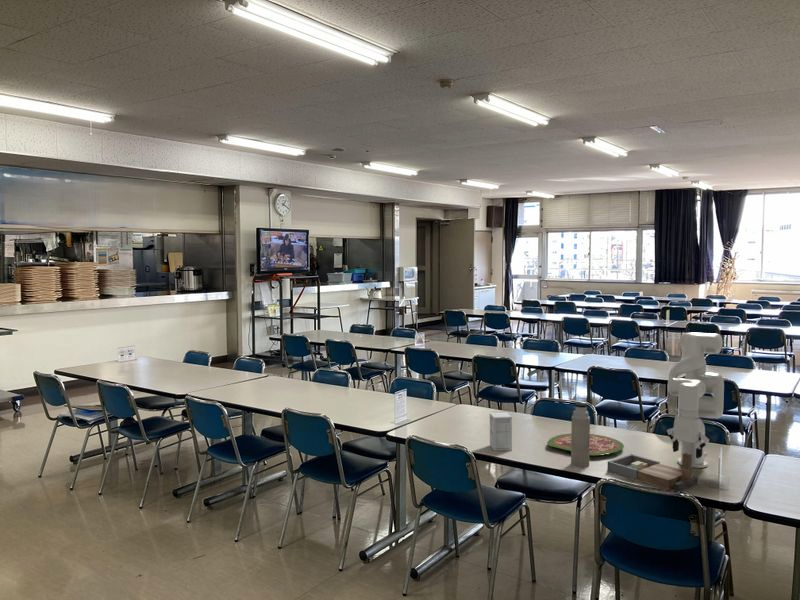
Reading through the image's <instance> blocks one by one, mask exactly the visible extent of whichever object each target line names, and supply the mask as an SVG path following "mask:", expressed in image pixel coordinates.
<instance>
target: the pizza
mask: <svg viewBox="0 0 800 600" xmlns="http://www.w3.org/2000/svg"><path fill="white" fill-rule="evenodd" d="M546 444H547V446H549V447H552V448H556V449H560V450H564V451H566V452H568V451H569V453H571V433H563V434H557V435H555V436H553V437H550V438H549V439H548V441H547V443H546ZM624 448H625V445H624V444H623V442H621V441H620V440H618V439H615V438H613V437H610V436H606V435H600V434H594V433H590V449H589V456H591V457H592V456H593V457H594V456H595V457H596V456H604V455H609V454H610V455H611V454H614V453H617V452H620V451H621V450H623V449H624Z"/></svg>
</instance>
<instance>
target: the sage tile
mask: <svg viewBox="0 0 800 600" xmlns="http://www.w3.org/2000/svg"><path fill="white" fill-rule="evenodd" d="M631 468H634V469H637V470H638V471H639V470H642V469H643V462H639V461H637V462H634V463H631Z"/></svg>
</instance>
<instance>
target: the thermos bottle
mask: <svg viewBox="0 0 800 600" xmlns="http://www.w3.org/2000/svg"><path fill="white" fill-rule="evenodd" d="M574 405H575V410H572V412H573V413H572V415H571V429H570V430H571V452H570V465H571V466H572V467H575V468H579V469H580V468H581V469H585V468H589V467H590V455H589V449H590V434H591V416H590V415H589V411H588V410H587V404H585V403H579V402H578V403H575V404H574Z"/></svg>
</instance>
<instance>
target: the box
mask: <svg viewBox="0 0 800 600" xmlns="http://www.w3.org/2000/svg"><path fill="white" fill-rule="evenodd" d="M636 461H640V462H643V463H647V464H648V467H650V466H653V465H656V464H658V463H659V464H661V461H658V460H656V459H655V460H654V459H651V458H647V457H643V456H639V455H636V454H632V453H630V454H627V455H624V456H620V457H618V458H615V459H612V460H609V461H607V468H606V469H607V472H606V473H610V474H614V475H617V476H620V477H623V478H626V479H630V480H632V481H638V480H637V475H638V470H637V469H634V468H631V463H633V462H636Z"/></svg>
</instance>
